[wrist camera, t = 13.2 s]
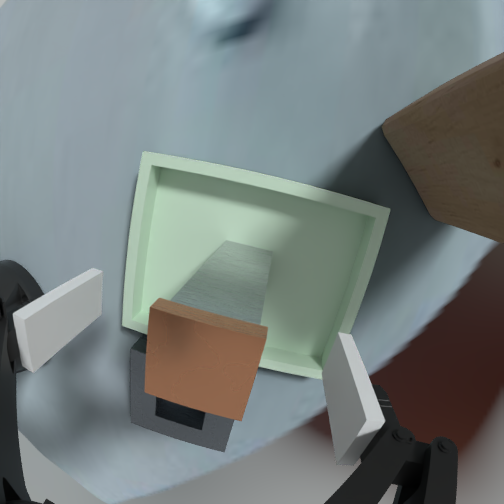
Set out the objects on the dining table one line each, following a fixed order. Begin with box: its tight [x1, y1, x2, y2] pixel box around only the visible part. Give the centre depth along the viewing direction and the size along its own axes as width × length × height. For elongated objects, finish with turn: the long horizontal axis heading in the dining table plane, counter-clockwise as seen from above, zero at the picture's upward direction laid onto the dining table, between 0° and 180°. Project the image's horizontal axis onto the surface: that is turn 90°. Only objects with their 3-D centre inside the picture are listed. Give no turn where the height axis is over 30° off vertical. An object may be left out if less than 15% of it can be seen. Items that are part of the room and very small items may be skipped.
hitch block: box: [130, 334, 234, 452], centre depth 29 cm, size 11×11×4 cm
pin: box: [145, 240, 273, 421], centre depth 19 cm, size 5×5×15 cm
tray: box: [122, 151, 391, 380], centre depth 25 cm, size 20×16×3 cm
